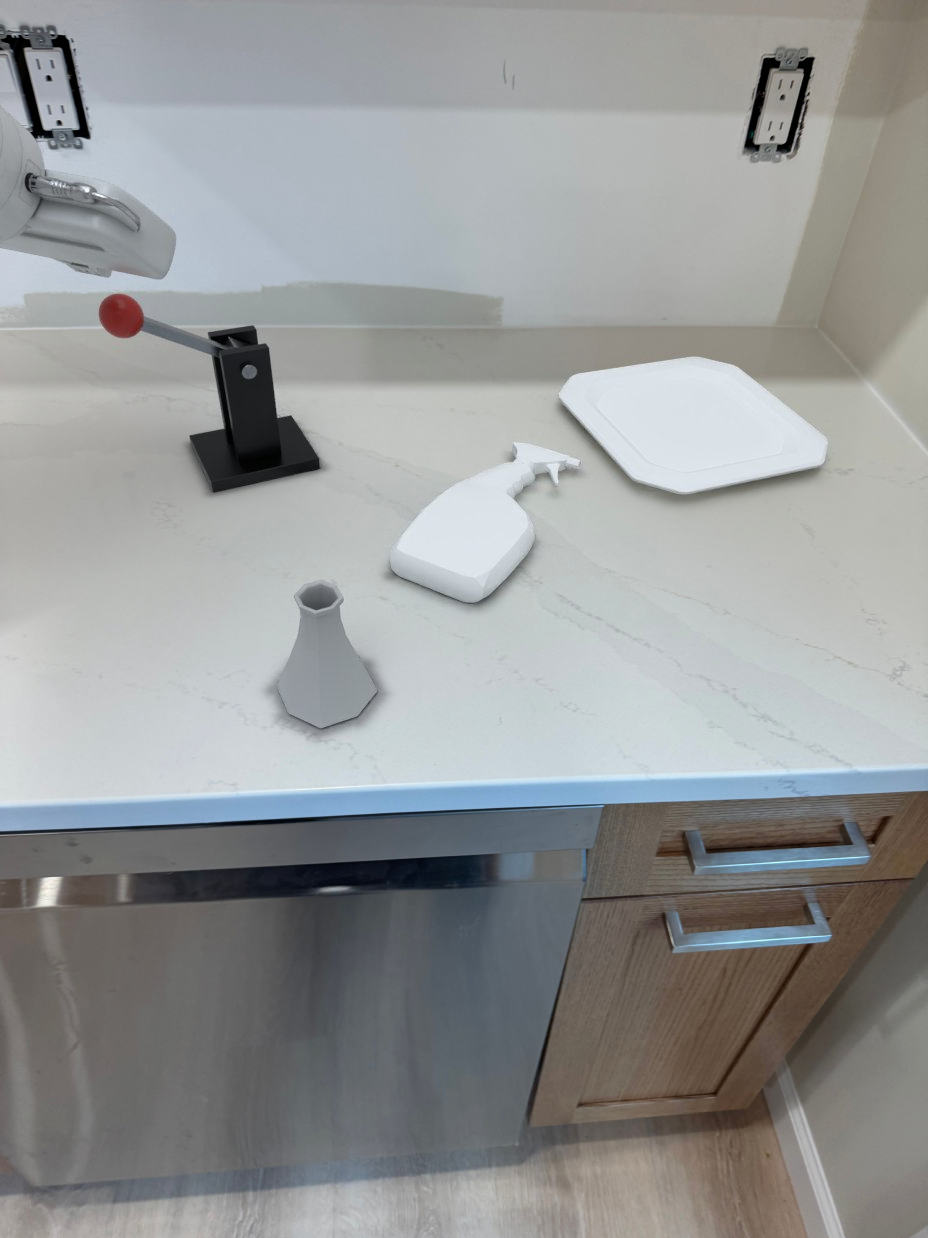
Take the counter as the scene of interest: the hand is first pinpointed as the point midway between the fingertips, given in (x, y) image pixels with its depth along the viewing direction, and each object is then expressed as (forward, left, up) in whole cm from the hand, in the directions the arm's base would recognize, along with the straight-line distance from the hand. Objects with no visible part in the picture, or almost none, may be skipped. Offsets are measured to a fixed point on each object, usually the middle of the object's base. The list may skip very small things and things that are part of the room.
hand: (97, 265), depth 67 cm
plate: (+56, -13, -21) cm, 62 cm away
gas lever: (+5, 0, -9) cm, 10 cm away
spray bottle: (+28, -19, -21) cm, 40 cm away
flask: (+6, -33, -21) cm, 40 cm away
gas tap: (+10, 0, -21) cm, 23 cm away
